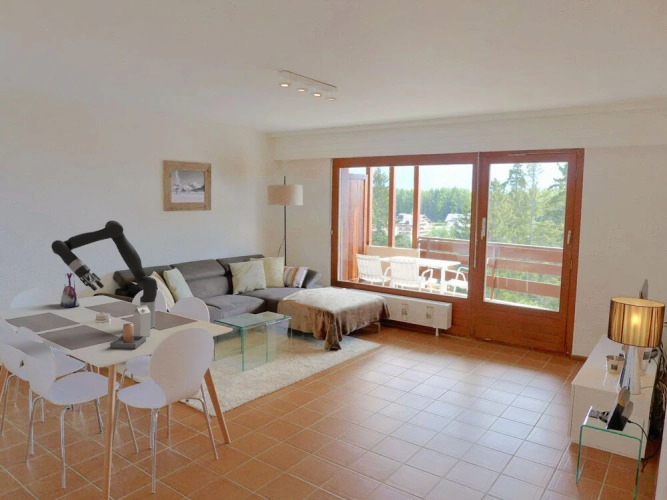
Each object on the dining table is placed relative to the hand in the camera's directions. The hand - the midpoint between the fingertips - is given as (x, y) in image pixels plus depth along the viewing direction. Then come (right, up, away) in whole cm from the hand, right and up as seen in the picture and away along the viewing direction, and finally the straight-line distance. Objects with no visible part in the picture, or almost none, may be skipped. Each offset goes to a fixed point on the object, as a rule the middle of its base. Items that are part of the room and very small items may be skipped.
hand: (99, 288), depth 284 cm
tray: (+18, -32, -3) cm, 37 cm away
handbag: (-62, -20, +84) cm, 107 cm away
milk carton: (+19, -31, +15) cm, 39 cm away
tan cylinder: (+18, -31, -3) cm, 36 cm away
